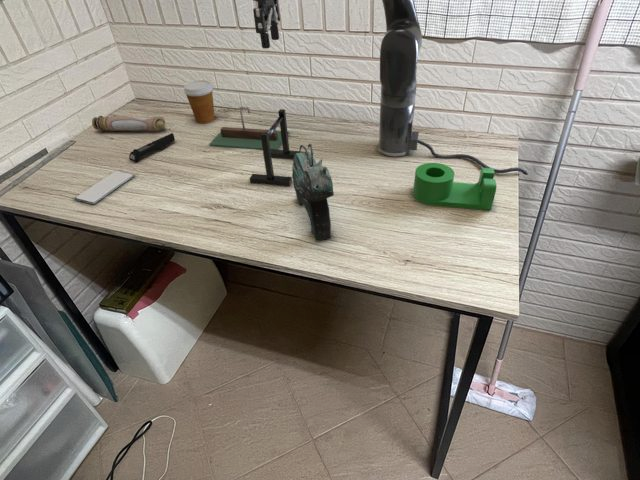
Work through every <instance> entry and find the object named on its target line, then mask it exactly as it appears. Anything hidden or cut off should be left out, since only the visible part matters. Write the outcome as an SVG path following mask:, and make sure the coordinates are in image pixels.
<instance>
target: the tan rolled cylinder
mask: <svg viewBox="0 0 640 480" xmlns="http://www.w3.org/2000/svg"><path fill="white" fill-rule="evenodd" d="M91 125H92V127H93V129H94V130H99V131H101V132H104V131H112V132H114V131H118V132H119V131H122V132H135V131H137V132H138V131H150V132H156V131H157V132H158V131H163V130H164V128H165V127H166V120H165V118H164V117H162V116H157V115H155V116H152V117H136V116H123V115H112V116H103V115H98V116H94V117H93V118H92V119H91Z"/></svg>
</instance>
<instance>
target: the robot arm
mask: <svg viewBox="0 0 640 480" xmlns="http://www.w3.org/2000/svg"><path fill="white" fill-rule="evenodd" d="M252 1H254V2H256V3H257V8H256V7H254V8H253V9H252V12H253V21H254V28H255V33H256V34H259V35H260V43H261V48H262V49H270V48H271V41H270V39H271V40H272V41H278V40H279V39H280V32H279V24H280V21H281V13H280V6H279V0H252ZM381 2H382V6H383V11H384V18H385V19H384V20H385V28H386V29H385V30H386V33H385V34H384V36H383V38H382V40H381V43H380V49H379V82H380V100H379V101H380V102H379V103H380V104H379V128H378V129H379V130H378V145H377V150H378V152H379V153H380V154H382V155H384V156H387V157H402V156H410V155H411V151H417V149H418V144H419V145H421V146H423V147H425V148H427V149H428V150H429V151H430V153H431V155H432V156H433V157H434V158H435V157H436V158H437V159H457V158H458V159H459V158H461V159H467V160H468V159H469V160H471V161H473V162H475V163H476V164H478V165H479V166H480V167H481V168H491V167H490V166H488V165H487V164H485V163H484V162H483V161H482V160H480V159H478V158H477V157H475V156H472V155H469V154H466V153H465V154H464V153H463V154H462V153H459V154H449V155H444V154H443V155H442V154H438V153H436V152H435V150H434V148H433V146H431V145H430V144H428V143H426V142H424V141H423V140H420V139H419V132H420V131H414V123H415V106H416V98H417V97H416V96H417V87H418V81H417V71H418V69H417V68H418V56H419V52H420V50H421V48H422V44H423V34H422V30H421V26H420V22H419V18H418V13H417V10H416V4H415V1H414V0H381ZM269 30H270V34H269ZM269 35H270V36H269ZM270 37H271V38H270ZM493 169H494V173H495V174H506V173H512V172H520V173H522V174H523V175H525V176H528V175H529V172H528V171H527V170H525V169H524V168H522V167H510V168H505V169H497V168H493Z"/></svg>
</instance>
